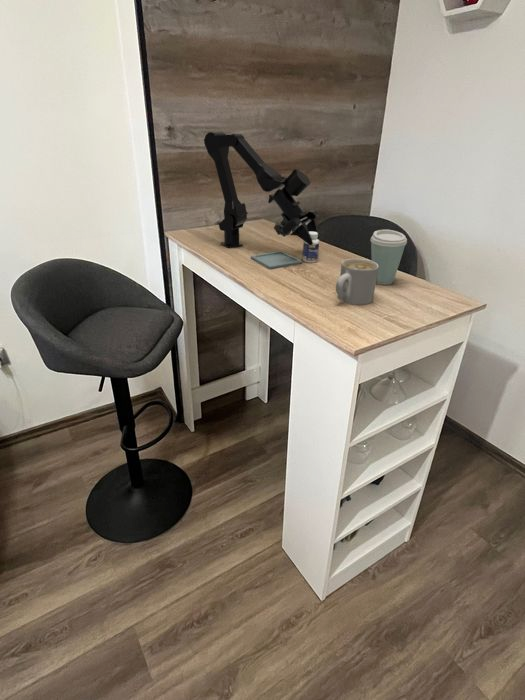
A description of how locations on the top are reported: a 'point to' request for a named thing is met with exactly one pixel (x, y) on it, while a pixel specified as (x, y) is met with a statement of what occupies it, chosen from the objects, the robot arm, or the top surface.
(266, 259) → the tray
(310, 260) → the pill bottle
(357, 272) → the coffee mug
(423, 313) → the top surface
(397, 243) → the disposable coffee cup
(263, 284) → the top surface
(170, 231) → the top surface
